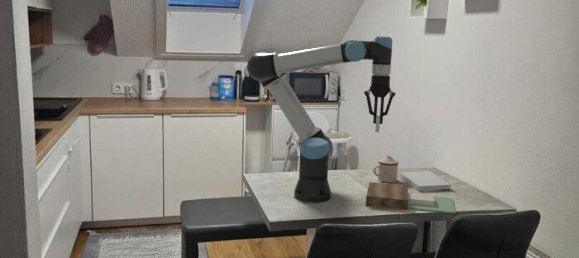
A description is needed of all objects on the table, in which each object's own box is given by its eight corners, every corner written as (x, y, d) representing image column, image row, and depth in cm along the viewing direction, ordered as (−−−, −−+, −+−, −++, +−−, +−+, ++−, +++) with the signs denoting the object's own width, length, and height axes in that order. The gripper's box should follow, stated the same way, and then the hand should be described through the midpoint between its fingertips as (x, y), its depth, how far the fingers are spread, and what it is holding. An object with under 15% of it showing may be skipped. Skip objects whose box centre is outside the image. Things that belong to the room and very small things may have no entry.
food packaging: (449, 191, 231) (428, 178, 250) (450, 184, 230) (429, 171, 249) (418, 193, 228) (399, 179, 247) (418, 186, 227) (399, 172, 246)
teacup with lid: (390, 176, 249) (392, 152, 247) (401, 182, 240) (402, 157, 238) (368, 178, 245) (369, 154, 243) (377, 184, 236) (379, 158, 234)
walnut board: (365, 205, 206) (366, 196, 206) (368, 191, 226) (369, 182, 225) (407, 209, 203) (408, 200, 202) (406, 194, 222) (407, 185, 222)
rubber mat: (407, 209, 204) (407, 207, 204) (406, 195, 221) (407, 193, 221) (455, 213, 200) (455, 212, 200) (451, 199, 218) (451, 197, 218)
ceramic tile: (407, 203, 209) (408, 198, 208) (407, 197, 216) (407, 192, 216) (433, 206, 207) (434, 201, 206) (432, 199, 215) (432, 195, 214)
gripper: (364, 74, 213) (360, 132, 217) (397, 76, 210) (393, 134, 214) (365, 73, 220) (362, 128, 224) (397, 74, 217) (393, 131, 222)
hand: (377, 131), depth 219 cm, fingers closed
